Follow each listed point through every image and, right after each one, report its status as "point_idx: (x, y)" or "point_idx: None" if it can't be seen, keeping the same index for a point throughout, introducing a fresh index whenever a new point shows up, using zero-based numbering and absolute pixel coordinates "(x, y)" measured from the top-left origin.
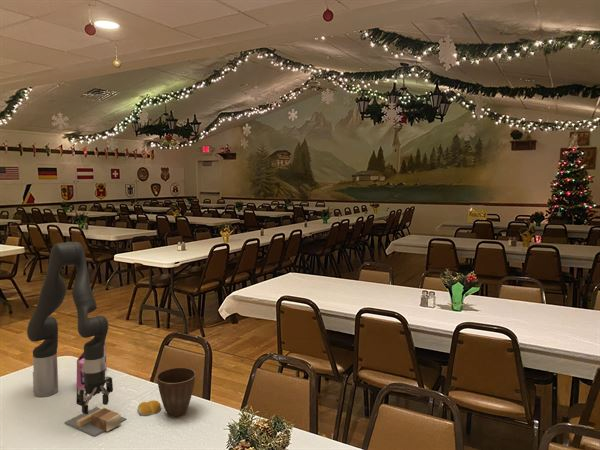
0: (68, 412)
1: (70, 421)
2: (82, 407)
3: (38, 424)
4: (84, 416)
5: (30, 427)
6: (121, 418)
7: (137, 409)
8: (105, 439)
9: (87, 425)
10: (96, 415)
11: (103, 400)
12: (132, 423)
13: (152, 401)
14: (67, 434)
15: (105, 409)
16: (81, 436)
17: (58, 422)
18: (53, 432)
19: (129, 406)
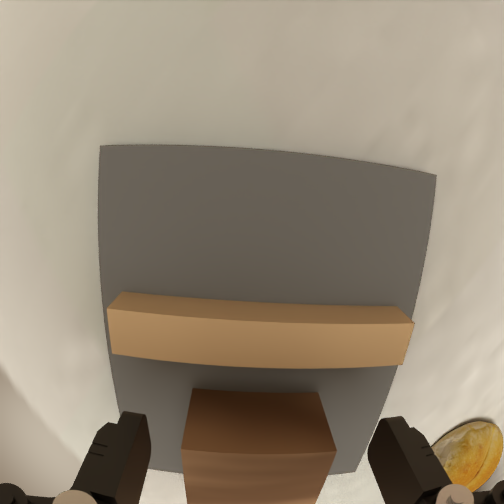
0: (265, 5)
1: (132, 185)
2: (83, 477)
3: (40, 8)
4: (262, 222)
5: (5, 15)
6: (347, 458)
7: (451, 437)
8: (158, 496)
9: (169, 370)
10: (200, 479)
11: (393, 455)
12: (330, 496)
13: (479, 483)
14: (43, 312)
15: (318, 467)
16: (89, 403)
17: (101, 84)
18: (7, 200)
19: (489, 360)
